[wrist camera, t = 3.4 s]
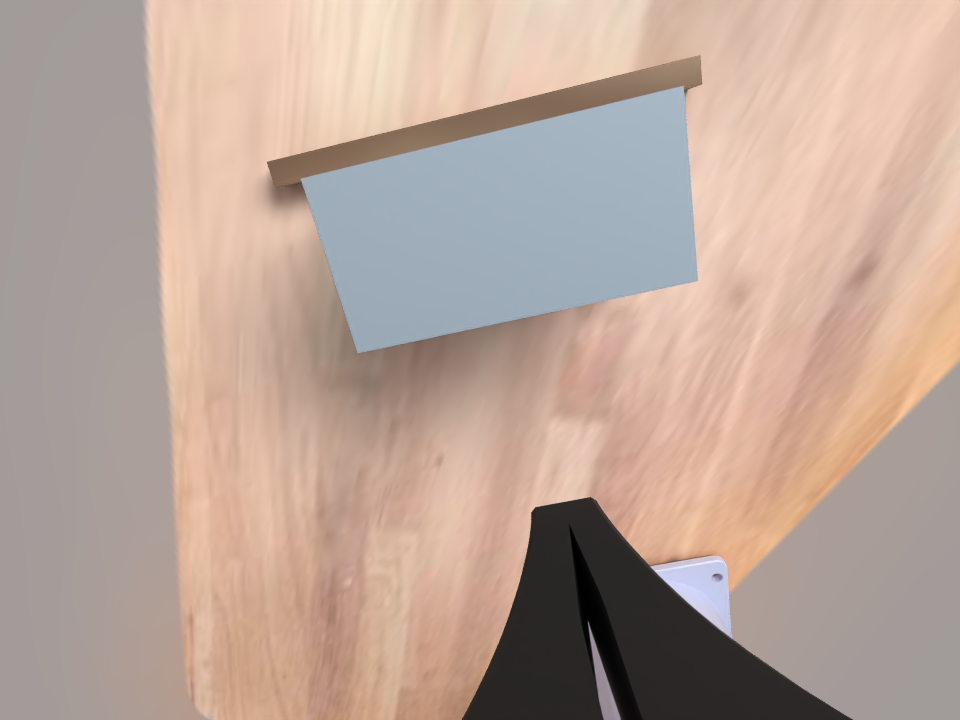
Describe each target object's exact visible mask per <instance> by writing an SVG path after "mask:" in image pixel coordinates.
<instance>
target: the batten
mask: <svg viewBox="0 0 960 720" xmlns="http://www.w3.org/2000/svg"><path fill="white" fill-rule="evenodd" d="M701 84H702V74H701V58H700V55H699V56H695V57H691V58H687V59H683V60H679V61H675V62H671V63H667V64H663V65H659V66H655V67H650V68H646V69H642V70H638V71H634V72H630V73H626V74H622V75H618V76H614V77H610V78H606V79H602V80H598V81H594V82H590V83H586V84H581V85H577V86H573V87H569V88H565V89H561V90H557V91H553V92H549V93H545V94H541V95H537V96H533V97H529V98H525V99H521V100H517V101H512V102H508V103H504V104H500V105H496V106H492V107H488V108H484V109H480V110H476V111H472V112H468V113H464V114H460V115H456V116H452V117H448V118H443V119H439V120H435V121H431V122H427V123H423V124H419V125H415V126H411V127H407V128H403V129H399V130H395V131H391V132H387V133H383V134H379V135H374V136H370V137H366V138H362V139H358V140H354V141H350V142H346V143H342V144H338V145H334V146H330V147H326V148H322V149H318V150H314V151H309V152H305V153H301V154H297V155H293V156H289V157H285V158H281V159H277V160H273V161H269V162H267V164H268V167H269V170H270V173H271V176H272V179H273V182H274V185H275V187H286V186H290V185H294V184H299V183H302V181H301V178H305V177H309V176H314V175H318V174H322V173H326V172H330V171H334V170H338V169H342V168H346V167H351V166H355V165H359V164H363V163H367V162H371V161H375V160H379V159H384V158H388V157H392V156H396V155H400V154H404V153H408V152H412V151H417V150H421V149H425V148H429V147H433V146H437V145H441V144H445V143H450V142H454V141H458V140H462V139H466V138H470V137H474V136H478V135H483V134H487V133H491V132H495V131H499V130H503V129H507V128H511V127H516V126H520V125H524V124H528V123H532V122H536V121H540V120H544V119H549V118H553V117H557V116H561V115H565V114H569V113H573V112H577V111H581V110H586V109H590V108H594V107H598V106H602V105H606V104H610V103H614V102H619V101H623V100H627V99H631V98H635V97H639V96H643V95H647V94H652V93H656V92H660V91H664V90H668V89H672V88H676V87H680V86H684V90H687V89H691V88H693V87H696V86H698V85H701Z"/></svg>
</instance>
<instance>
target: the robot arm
mask: <svg viewBox="0 0 960 720" xmlns="http://www.w3.org/2000/svg"><path fill="white" fill-rule="evenodd" d="M714 574H717V575H715V576H713V575H714ZM462 720H852V719H851V718H849V717H847V716H846V715H844V714H842V713H841V712H839V711H838V710H836V709H834V708H833V707H831V706H829V705H828V704H826V703H825V702H823V701H821V700H820V699H818V698H817V697H815V696H814V695H812V694H810V693H809V692H807V691H806V690H804V689H802V688H801V687H799V686H798V685H797V684H795V683H794V682H792V681H791V680H789V679H788V678H786V677H785V676H784V675H782V674H780V673H779V672H778V671H776V670H775V669H773V668H772V667H771V666H769V665H768V664H766V663H765V662H763V661H762V660H760V659H759V658H758V657H756V656H755V655H753V654H752V653H750V652H749V651H748V650H746V649H745V648H743V647H742V646H741V645H740V644H738V643H737V642H736V641H734V639H733V637H732V636H731V622H730V608H729V591H728V575H727V566H726V563H725V562H724V560H723V559H722V558H721V557H720V556H717V555H712V556H706V557H701V558H695V559H689V560H683V561H678V562H672V563H666V564H660V565H654V566H649V565H648V564H647V563H646V562H645V560H644V559H643V558H642V557H641V556H640V555H639V554H638V553H637V552H636V551H635V550H634V549H633V548H632V546H631V545H630V544H629V543H628V542H627V541H626V540H625V538H624V537H623V536H622V535H621V534H620V532H619V531H618V530H617V529H616V528H615V526H614V525H613V524H612V523H611V521H610V520H609V519H608V517H607V516H606V515H605V513H604V512H603V510H602V509H601V507H600V506H599V504H598V503H597V501H596V500H594V499H593V498H591V497H589V498H583V499H578V500H573V501H567V502H562V503H556V504H551V505H546V506H540V507H535V509H534V510H533V511H532V512H531V531H530V538H529V544H528V549H527V554H526V558H525V563H524V567H523V571H522V575H521V579H520V583H519V586H518V589H517V592H516V596H515V599H514V602H513V605H512V608H511V611H510V614H509V617H508V620H507V623H506V625H505V628H504V631H503V633H502V636H501V639H500V641H499V644H498V646H497V648H496V651H495V653H494V655H493V658H492V660H491V662H490V665H489V667H488V669H487V671H486V673H485V675H484V677H483V679H482V681H481V683H480V685H479V688H478V690H477V692H476V694H475V696H474V698H473V700H472V702H471V703H470V705H469V707H468V709H467V711H466V713H465V715H464V717H463V718H462Z"/></svg>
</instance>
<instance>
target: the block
mask: <svg viewBox="0 0 960 720" xmlns="http://www.w3.org/2000/svg"><path fill="white" fill-rule="evenodd" d="M301 181H302V184H303V188H304V191H305V194H306V197H307V200H308V203H309V206H310V209H311V212H312V215H313V218H314V221H315V224H316V227H317V230H318V234H319V237H320V240H321V243H322V246H323V249H324V252H325V255H326V258H327V261H328V264H329V267H330V270H331V273H332V276H333V280H334V283H335V286H336V289H337V292H338V295H339V298H340V301H341V304H342V307H343V310H344V313H345V316H346V319H347V322H348V325H349V329H350V332H351V335H352V338H353V341H354V344H355V347H356V350H357V353H363V352H367V351H372V350H377V349H381V348H386V347H391V346H395V345H400V344H405V343H409V342H414V341H419V340H423V339H428V338H433V337H438V336H442V335H447V334H452V333H456V332H461V331H466V330H470V329H475V328H480V327H484V326H489V325H494V324H498V323H503V322H508V321H512V320H517V319H522V318H527V317H531V316H536V315H541V314H545V313H550V312H555V311H559V310H564V309H569V308H573V307H578V306H583V305H587V304H592V303H597V302H601V301H606V300H611V299H616V298H620V297H625V296H630V295H634V294H639V293H644V292H648V291H653V290H658V289H662V288H667V287H672V286H676V285H681V284H686V283H690V282H695V281H698V276H697V262H696V248H695V235H694V221H693V207H692V193H691V179H690V165H689V151H688V137H687V123H686V109H685V95H684V86H680V87H676V88H672V89H668V90H664V91H660V92H656V93H652V94H647V95H643V96H639V97H635V98H631V99H627V100H623V101H619V102H614V103H610V104H606V105H602V106H598V107H594V108H590V109H586V110H581V111H577V112H573V113H569V114H565V115H561V116H557V117H553V118H549V119H544V120H540V121H536V122H532V123H528V124H524V125H520V126H516V127H511V128H507V129H503V130H499V131H495V132H491V133H487V134H483V135H478V136H474V137H470V138H466V139H462V140H458V141H454V142H450V143H445V144H441V145H437V146H433V147H429V148H425V149H421V150H417V151H412V152H408V153H404V154H400V155H396V156H392V157H388V158H384V159H379V160H375V161H371V162H367V163H363V164H359V165H355V166H351V167H346V168H342V169H338V170H334V171H330V172H326V173H322V174H318V175H314V176H309V177H305V178H301Z"/></svg>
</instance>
